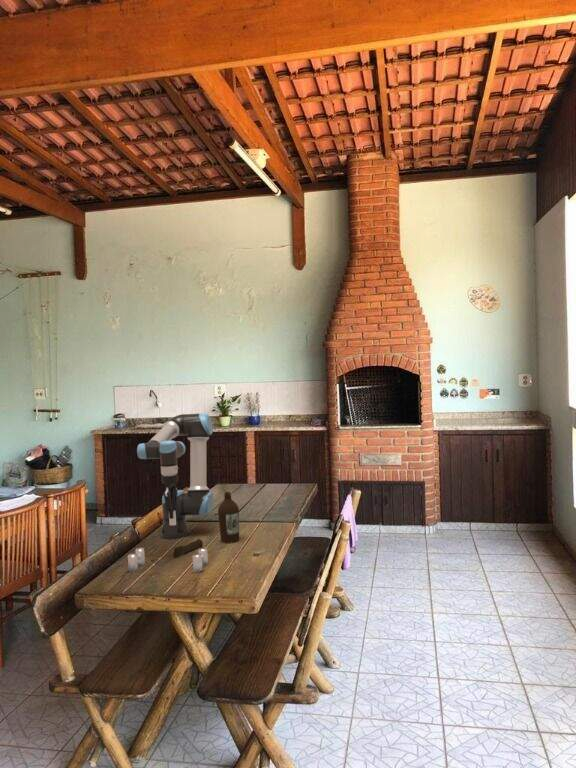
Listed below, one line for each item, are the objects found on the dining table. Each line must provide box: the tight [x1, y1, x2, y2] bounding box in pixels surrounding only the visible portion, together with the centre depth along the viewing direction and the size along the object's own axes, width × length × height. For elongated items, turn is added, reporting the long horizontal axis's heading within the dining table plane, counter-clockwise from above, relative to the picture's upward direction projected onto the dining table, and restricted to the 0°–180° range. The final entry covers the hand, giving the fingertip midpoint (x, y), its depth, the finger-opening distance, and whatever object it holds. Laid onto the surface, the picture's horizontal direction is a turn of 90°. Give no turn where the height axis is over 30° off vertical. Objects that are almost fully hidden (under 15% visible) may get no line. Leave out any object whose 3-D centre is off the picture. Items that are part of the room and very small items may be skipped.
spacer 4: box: [197, 547, 209, 566], centre depth 258 cm, size 4×4×7 cm
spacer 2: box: [134, 547, 146, 567], centre depth 263 cm, size 4×4×7 cm
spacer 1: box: [127, 553, 139, 573], centre depth 255 cm, size 4×4×7 cm
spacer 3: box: [192, 553, 203, 573], centre depth 250 cm, size 4×4×7 cm
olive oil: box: [217, 490, 240, 544], centre depth 292 cm, size 11×11×25 cm
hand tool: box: [172, 538, 204, 559], centre depth 277 cm, size 19×4×5 cm, turn 146°
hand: (172, 524), depth 266 cm, fingers closed
